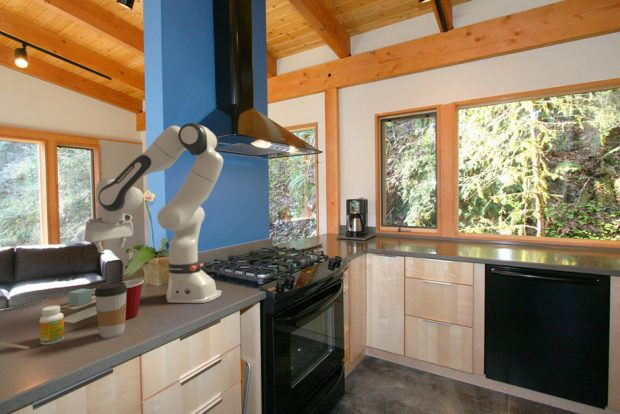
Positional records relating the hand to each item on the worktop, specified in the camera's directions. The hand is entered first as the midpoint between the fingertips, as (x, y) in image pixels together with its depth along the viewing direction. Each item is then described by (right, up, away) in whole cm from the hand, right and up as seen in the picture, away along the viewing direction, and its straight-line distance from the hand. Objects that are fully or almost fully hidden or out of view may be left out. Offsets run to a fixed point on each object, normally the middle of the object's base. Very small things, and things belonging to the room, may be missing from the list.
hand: (111, 249), depth 131 cm
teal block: (-4, -19, -12) cm, 23 cm away
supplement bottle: (+10, -21, -42) cm, 48 cm away
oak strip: (-2, -20, -8) cm, 21 cm away
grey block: (+7, -20, -20) cm, 29 cm away
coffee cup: (+25, -21, -37) cm, 49 cm away
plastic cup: (+21, -20, -24) cm, 38 cm away
